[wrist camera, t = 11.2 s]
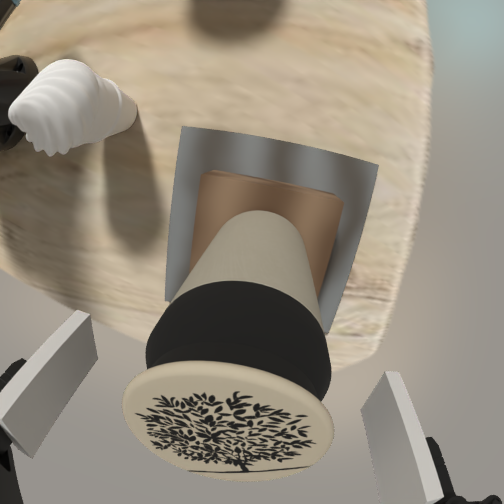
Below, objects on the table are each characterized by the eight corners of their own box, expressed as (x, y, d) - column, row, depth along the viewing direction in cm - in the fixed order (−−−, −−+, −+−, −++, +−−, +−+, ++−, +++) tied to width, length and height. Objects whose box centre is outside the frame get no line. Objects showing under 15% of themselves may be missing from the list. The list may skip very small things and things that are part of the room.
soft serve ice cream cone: (148, 69, 25) (53, 26, 10) (160, 137, 28) (59, 137, 13) (88, 95, 26) (-14, 84, 11) (98, 158, 29) (-7, 179, 14)
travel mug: (205, 216, 24) (76, 355, 7) (300, 204, 23) (350, 351, 6) (222, 299, 27) (161, 475, 10) (308, 291, 26) (334, 480, 9)
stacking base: (167, 296, 34) (149, 323, 29) (185, 126, 27) (163, 122, 22) (327, 328, 34) (334, 359, 28) (375, 164, 27) (397, 168, 21)
